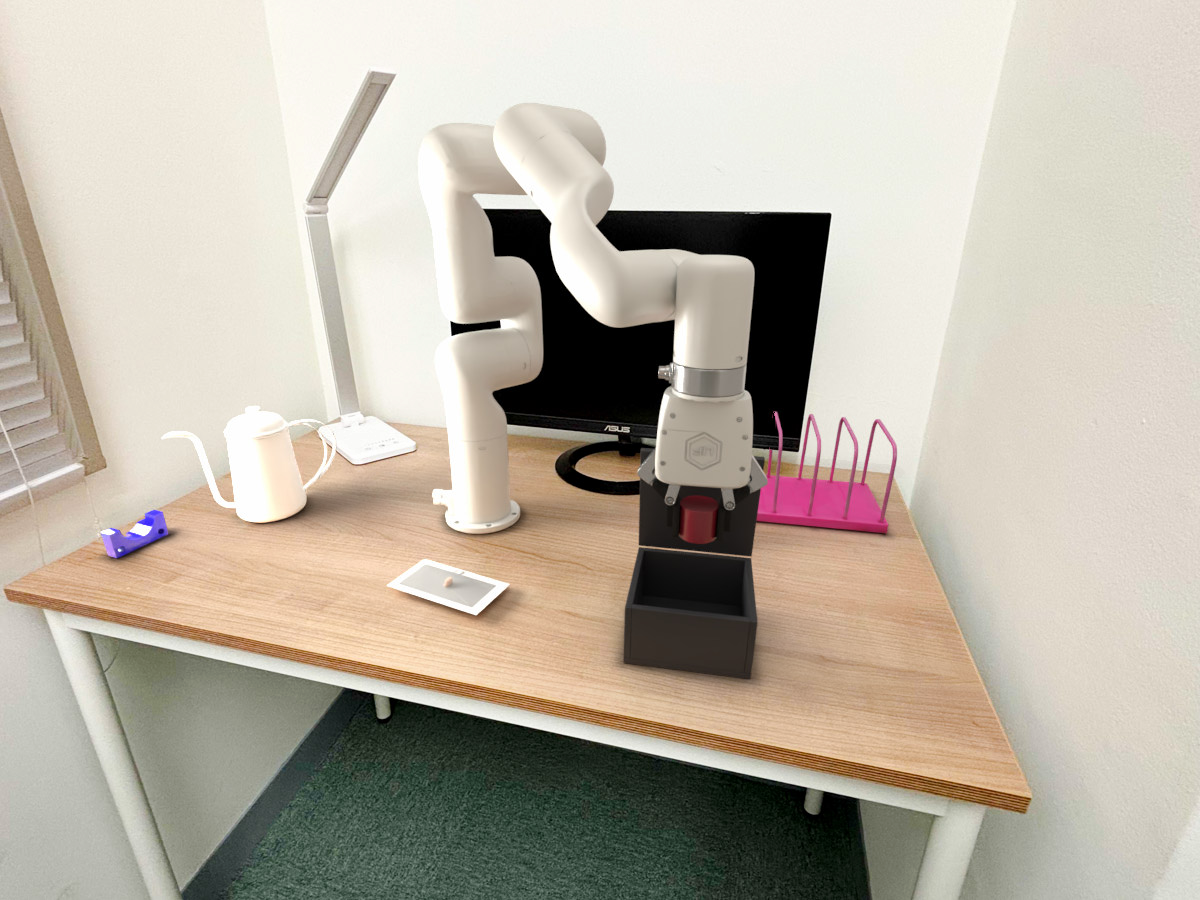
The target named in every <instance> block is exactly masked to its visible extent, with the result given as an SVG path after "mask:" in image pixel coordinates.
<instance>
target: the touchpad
mask: <svg viewBox="0 0 1200 900" xmlns="http://www.w3.org/2000/svg"><path fill="white" fill-rule="evenodd" d="M510 585H511V584H510V583H508V582H504V581H501V580H498V579H494V578H491V577H488V576H484V575H481V574H478V573H474V572H470V571H468V570H463V569H461V568H458V567H454V566H451V565H447V564H444V563H441V562H439V561H438V562H437V561H434V560H431V559H427V558H423V559H422V560H420V561H418V562H417V563H416V564H414V565H413V566H412V567H410V568H409V569H408V570H406V571H405V572H403V573H401V574H400V575H399V576H397V577H396V578H395V579H393V580H392V581H391V582H389V583H388V584H386V587H388V588H392V589H395V590H398V591H400V592H403V593H407V594H410V595H413V596H416V597H419V598H422V599H425V600H428V601H431V602H434V603H437V604H439V605H443V606H446V607H449V608H452V609H455V610H458V611H460V612H461V611H462V612H464V613H467V614H471V615H473V616H477V615H478V614H480V613H481V612H483V610H484V609H485V608H486V607H487V606H488V605H489V604H491V603H492V602H493V601H494V600H495V599H496V598H497V597H498V596H499V595H501V594H502V593H503V592H504V591H505V590H506V589H507V588H508V587H509V586H510Z"/></svg>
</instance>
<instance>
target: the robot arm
mask: <svg viewBox="0 0 1200 900" xmlns="http://www.w3.org/2000/svg"><path fill="white" fill-rule="evenodd" d="M606 156H607V141H606V137H605V134H604V131H603V130H602V128H601V126H600V124H599V123H598V122H597V120H596V119H595V118H594V117H593V116H592V115H591V114H589V113H587V112H585V111H583V110H581V109H575V108H570V107H564V106H557V105H550V104H544V103H538V102H521V103H518V104H514V105H512V106H509V108H506V110H504V111H503V112H502V113H501V114H500V115H499V116H498V119H497V120H496V122H495V125H489V124H479V123H473V122H472V123H470V122H449V123H444V124H439V125H437V126H435V127H433V128H431V129H430V130H429V131H428V132H427V133H426V134H425V136H424V137H423V139H422V141H421V144H420V147H419V151H418V157H417V174H418V182H419V186H420V187H419V188H420V191H421V194H422V198H423V201H424V205H425V207H426V211H427V213H428V217H429V220H430V225H431V230H432V236H433V238H432V239H433V250H434V261H435V270H436V279H437V281H436V282H437V289H438V296H439V303H440V308H441V311H442V313H443V314H444V316H445V317H446V319H448V321H450V322H453V323H455V324H462V325H464V324H465V325H467V324H468V325H470V324H480V323H487V322H488V323H489V322H497V321H500V327H498V328H491V329H482V330H475V331H467V332H463V333H458V334H455V335H452V336H449V337H448V338H446V339H445V340H443V341H442V342H441V343H440V344H439V346H437V348H436V350H435V354H434V365H435V371H436V375H437V379H438V382H439V385H440V390H441V393H442V397H443V403H444V409H445V416H446V418H445V419H446V428H447V438H448V449H449V450H448V451H449V462H450V474H451V475H450V476H451V485H452V486H451V487H452V488H451V489H442V488H434V489H432V493H431V498H432V505H434V506H439V507H440V506H445V507H446V508H447V509H446V511H445V514H444V515H445V523H446V524H447V526H449V527H450V528H451V529H452V530H455V531H457V532H460V533H465V534H473V535H474V534H475V535H476V534H477V535H478V534H479V535H482V534H483V535H484V534H490V533H496V532H500V531H503V530H506V529H508V528H509V527H511V526H513V525H514V524H516V523H517V522H518V520H519V519H520V517H521V507H520V505H519V504H518V503H517V501H515V500H514V499H511V483H510V459H509V458H510V457H509V438H508V422H507V416H506V413H505V410H504V409H503V407H502V406H501V405H500V404H499V403H498V401H497V400H496V399H495V397H494V395H493V393H494V392H495V391H499V390H501V389H502V390H503V389H506V388H511V387H515V386H519V385H523V384H528V383H530V382H532V381H533V380H535V379H536V378H538V376H539V375H540V372H541V371H542V368H543V364H544V334H543V333H544V332H543V309H542V308H543V307H542V306H543V305H542V291H541V286H540V281H539V279H538V276H537V274H536V272H535V270H534V269H533V267H532V266H531V265H530V263H529V262H527V261H526V260H525V259H523V258H522V257H521V258H520V257H517V256H511V255H510V256H508V255H507V256H495V252H494V236H493V228H492V225H491V222H490V220H489V217H488V215H487V214H486V212H485V210H484V209H483V207H482V206H481V204H480V203H479V201H478V200H477V199H476V198H475V197H474V195H476V194H479V195H480V194H483V195H502V196H503V195H505V196H529V198H530V199H531V200H532V202H533V203H535V205H536V206H538V209H540V211H541V212H542V214H543V215H544V216H545V218H547V219H548V221H549V222H550V223H551V225H550V233H549V245H550V251H551V256H552V261H553V265H554V267H555V271H556V273H557V275H558V276H559V279H560V280H561V282H562V283H563V285H564V286H565V287H566V289H567V290H568V291H569V292H570V294H571V295H572V296H573V297H574V298H575V300H576V301H577V302H578V303H579V304H580V306H581V307H582V308H583V309H584V310H585V311H586V312H587V314H589V315H590V316H591V317H592V318H593V319H595V320H596V321H597V322H599V323H601V324H603V325H605V326H606V327H607V326H608V327H610V328H621V329H622V328H630V327H635V326H640V325H645V324H653V323H663V322H668V321H674V331H673V333H674V334H673V352H672V362H670V363H669V364H666V365H659V366H658V375H657V376H658V377H657V378H658V379H659V380H660V379H663V380H665V381H668V384H671V385H670V386H668V387H666V389H665V390H664V392H663V396H662V399H661V404H660V409H659V415H658V422H657V433H656V441H655V447H654V448H653V449H654V450H653V451H652V452H651V453H650V455H649V456H648V457H647V458H646V459H645V461H644V462H643V463H642V464H641V465H640V464H639V467H638V468H637V470H636V471H637V472H636V474H637V477H639V479H640V478H641V479H643V480H644V481H645V482H647V483H648V484H650V485H652V487H653V488H654V489H655V490H656V491H657V492H658V493H659V494H660V496H661V497H662V498H663V499H664V500H665V503H666V504H667V522H666V526H667V527H672V537H675V538H676V536H677V537H678V531H679V514H680V501H681V497H679V493H678V492H679V489H680V486H681V485H686V486H699V487H712V488H721V491H722V497H721V500H719V511H718V523H717V535H716V540H718V541H720V542H723V534H724V532H730V523H731V512H732V510H733V509H734V508H735V505H736V504H738V503H739V502H740V501H742V500H743V499H744V498H746V497H747V496H748V495H749V494H750V493H752V492H755V491H757V490H759V489H761V488H762V487H764V486H766V485H767V484H768V481H767V476H766V475H767V474H766V473H765V472H764V469H763V470H762V469H761V467H760V465H759V464H758V462H757V461H756V459H755V458H754V456H755V455H753V438H754V435H753V434H754V413H753V400H752V396H751V393H750V392H749V391H748V390H746V389H745V388H746V387H745V386H746V385H745V384H746V376H747V375H746V374H747V363H748V353H749V341H750V332H751V320H752V311H753V310H752V309H753V300H754V289H755V288H754V287H755V267H754V264H753V262H752V261H751V260H749V259H748V258H746V257H744V256H740V255H733V254H732V255H731V254H698V253H695V252H692V251H689V250H688V251H687V250H682V249H677V248H669V249H665V248H664V249H638V250H637V249H635V250H624V251H623V250H622V251H621V250H618V249H617V248H616V247H615V246H614V245H613V244H612V243H611V242H610V241H609V240H608V239H607V237H606V236H604V234H603V233H602V232H601V231H600V230H599V228H598V227H597V225H598V224H599V223H600V222H601V221H602V219H604V217H605V216H606V214H607V212H609V209H610V208H611V205H612V202H613V200H614V194H615V186H614V182H613V178H612V176H611V175H610V173H609V171H607V170H606V169H605V167H603V166H604V164H605V162H606ZM654 468H655V471H654ZM750 475H751V477H750ZM749 477H750V478H749Z"/></svg>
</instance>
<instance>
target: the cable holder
mask: <svg viewBox="0 0 1200 900" xmlns="http://www.w3.org/2000/svg"><path fill="white" fill-rule="evenodd" d="M169 533H170V532H169V529H168V526H167V521H166V519H165V515H164V512H163V511H160V510H157V509H152V510H150V511H148V512H146V513H144V518H143V519H140V520H138V521H137V522H136V523H135V526H134V527H133V528H131V529H130V530H129V531H127V532H126V533H125V534H126V536H125V535H124V534H123V533H122V531H121V529H118V528H117V529H116V528H113V527H110V528H107V529H105V530H101V531H100V536H101V538H102V541H103V545H104V548H105V551H106V554H107V556H108V557H110V558H114V559H118V558H121V557H123V556H125V555H128V554H130V553H132V552H134V551H136V550H138V549H140V548H142V547H144V546H147V545H148V544H151V543H153V542H155V541H157V540H160V539H162V538H164V537H166V536H168V535H169Z"/></svg>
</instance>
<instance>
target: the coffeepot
mask: <svg viewBox="0 0 1200 900" xmlns="http://www.w3.org/2000/svg"><path fill="white" fill-rule="evenodd" d="M309 423H317V424H319V425H323V426H324V427H326V428H327V429H328V431H329V433H330V435H331V437H332V451H331V455H330V457H329V460H328V455H329V451H328V445H327V441H326V439H325V437H324V435H323V434H322V433H321V431H319V430H318V429H317V428H316V427H314V426H313V425H311V424H309ZM297 425H298V426H299V425H300V426H306V427H309V428H312V429H314V430H315V431H316V432H317V433H318V435H319V436H320V438H321V440H322V444H323V449H324V454H323V455H324V456H323V460H322V463H321V465H320V467H319V469H318V470H317V472H316V474H315V475H314V476H313V477H312V478H311V479H309V480H308V481H307V483H306V484H303V480H302V477H301V473H300V469H299V466H298V462H297V458H296V454H295V451H294V447H293V443H292V440H291V437H290V435H291V431H290V427H294V426H297ZM223 433H224V437H225V438H226V442H227V443H226V445H227V451H228V457H229V466H230V473H231V480H232V487H233V495H234V496H233V497H234V502H228V501H225V500H224V499H223V498H222V496H221V495H220V492H219V490H218V487H217V485H216V481H215V478H214V475H213V472H212V470H211V467H210V464H209V461H208V458H207V455H206V451H205V450H204V447H203V444H202V441H201V440H200V439H199V437H198V436H197V435H195V434H194V433H192V432H189V431H184V430H181V431H180V430H177V431H170V432H167V433H166V434H164V435H163V436H162V437H161V440H164V439H171V438H172V439H173V438H186V439H189V440H191V441H192V442H193V444H194V447H195V449H196V451H197V454H198V456H199V457H198V458H199V460H200V462H201V465H202V468H203V472H204V474H205V478H206V480H207V482H208V486H209V488H210V491H211V494H212V496H213V499H214V500H215V501H216V503H218V505H220V506H222V507H223V508H226V509H235V510H236V514H237V516H238V517H239V518H240V519H242V520H243V521H247V522H250V523H271V522H276V521H281V520H285V519H287V518H289V517H292V516H294V515H296V514H297V513H299V512H300V511H302V510H303V509H304V507H305V506H306V504H307V496H308V494H307V489H308V488H309V487H311V486H312V485H314V484H315V483H317V482H318V481H319V480H320V479H321V478H322V477H323V476H324V475H325V474H326V473H327V471H328V470H329V469H330V467H331V466H332V464H333V462H334V460H335V457H336V454H337V453H336V452H337V439H336V435H335V433H334V431H332V429H331V428H330V427H329V426H328V425H327V424H325V423H323V422H321V421H319V420H316V419H310V418H309V419H298V420H294V421H290V422H288V421H286V419H284V418H283V417H282V416H281V415H280V414H278V413H276V412H271V411H261V407H260V406H259V405H253V406H247V407H246V408H245V413H244V414H241V415H238V416H236V417H233V418H232V419H230V421H228V423H227V426H226V428H225V429H224V431H223Z"/></svg>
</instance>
